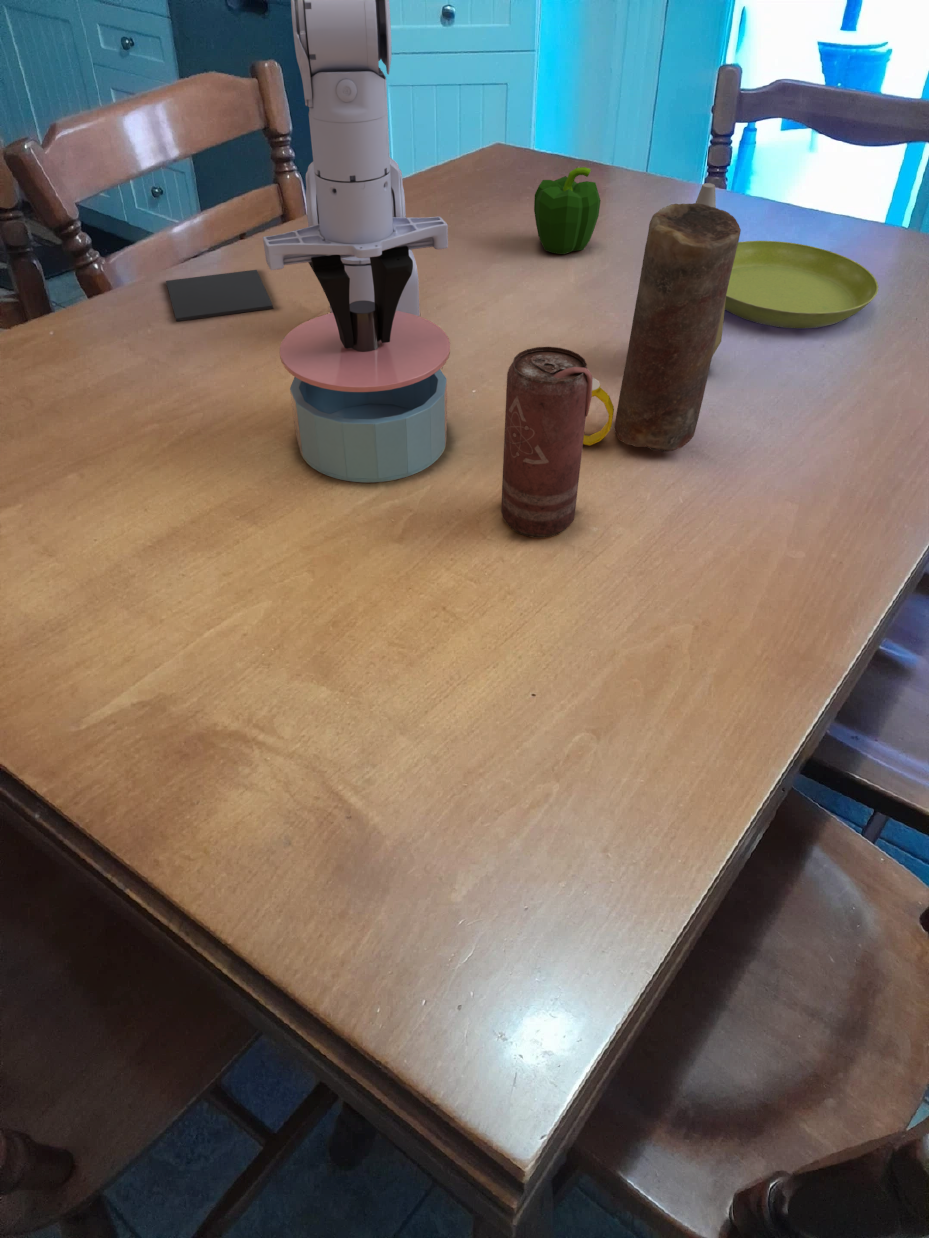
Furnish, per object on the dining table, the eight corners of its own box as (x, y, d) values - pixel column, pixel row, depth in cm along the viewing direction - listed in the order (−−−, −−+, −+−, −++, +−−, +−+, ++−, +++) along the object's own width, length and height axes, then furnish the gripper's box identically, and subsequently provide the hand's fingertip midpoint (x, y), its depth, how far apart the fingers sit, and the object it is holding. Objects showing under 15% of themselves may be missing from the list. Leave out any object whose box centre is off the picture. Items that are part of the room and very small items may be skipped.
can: (573, 545, 72) (591, 386, 63) (495, 534, 73) (501, 377, 64) (581, 501, 77) (599, 347, 67) (507, 492, 78) (515, 339, 68)
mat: (257, 272, 112) (256, 269, 112) (273, 308, 104) (272, 305, 104) (166, 284, 109) (165, 280, 109) (176, 321, 102) (175, 318, 101)
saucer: (674, 320, 103) (679, 292, 101) (708, 256, 117) (713, 231, 115) (863, 352, 97) (873, 324, 95) (876, 281, 111) (884, 255, 109)
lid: (421, 311, 85) (420, 263, 82) (473, 383, 75) (474, 331, 72) (267, 333, 81) (259, 284, 78) (300, 411, 71) (293, 358, 68)
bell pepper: (519, 251, 118) (523, 169, 111) (548, 232, 123) (554, 153, 116) (577, 265, 114) (585, 182, 108) (604, 245, 120) (614, 164, 113)
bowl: (421, 395, 90) (419, 339, 86) (466, 466, 80) (466, 407, 76) (286, 417, 87) (278, 360, 83) (316, 494, 77) (309, 434, 73)
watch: (542, 445, 83) (547, 386, 79) (546, 429, 85) (551, 371, 81) (607, 452, 82) (615, 393, 78) (610, 436, 84) (618, 378, 80)
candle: (700, 427, 86) (747, 208, 72) (689, 467, 81) (736, 239, 67) (621, 413, 88) (652, 196, 74) (605, 451, 82) (635, 227, 69)
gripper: (265, 198, 63) (289, 374, 72) (460, 177, 67) (459, 348, 76) (249, 167, 68) (273, 337, 77) (431, 150, 72) (434, 314, 81)
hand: (364, 340), depth 77 cm, fingers closed on lid, 2 cm apart
